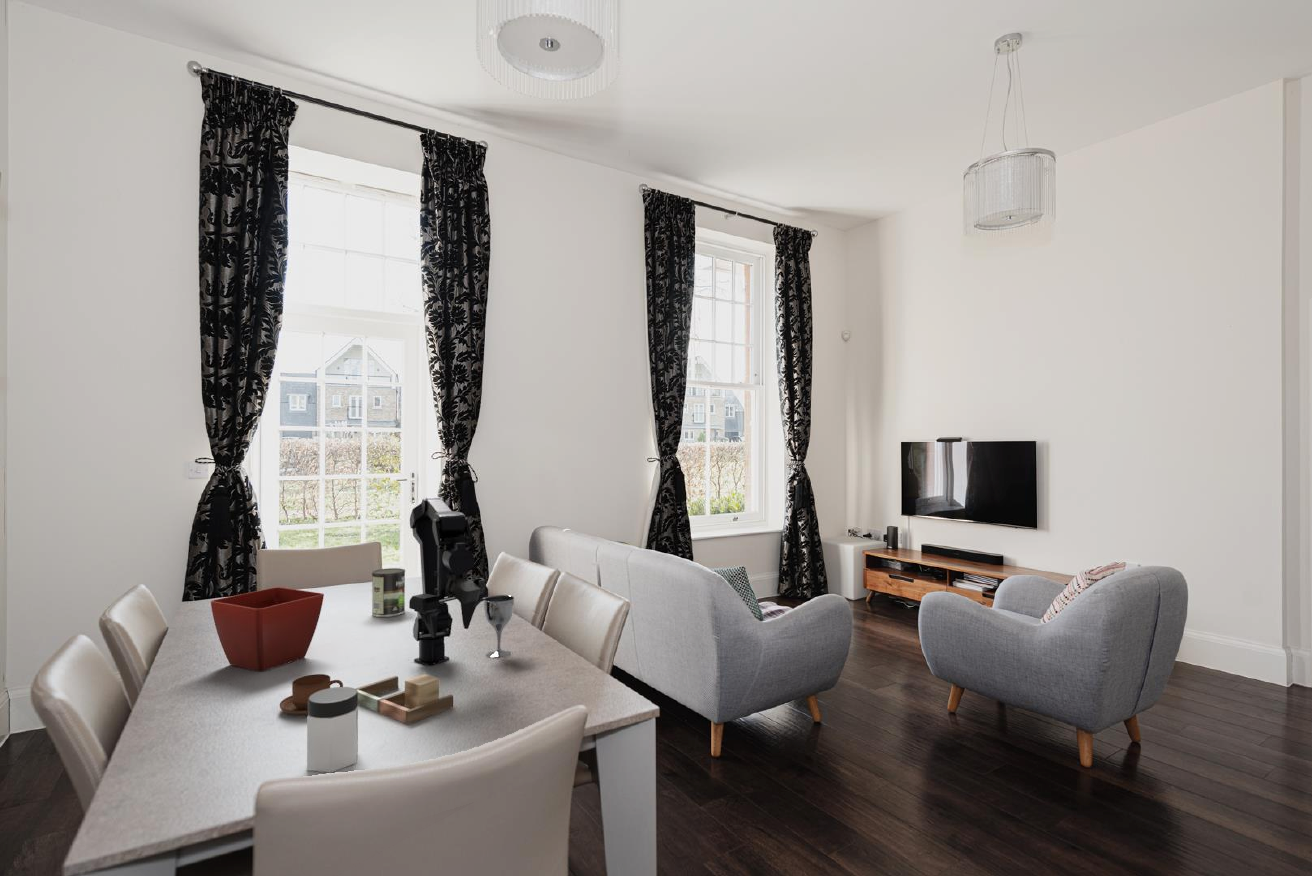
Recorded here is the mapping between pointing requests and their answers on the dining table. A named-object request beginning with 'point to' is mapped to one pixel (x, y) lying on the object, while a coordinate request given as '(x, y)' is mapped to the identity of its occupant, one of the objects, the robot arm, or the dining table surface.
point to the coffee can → (388, 592)
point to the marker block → (421, 690)
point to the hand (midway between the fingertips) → (450, 633)
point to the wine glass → (498, 619)
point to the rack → (398, 702)
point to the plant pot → (267, 626)
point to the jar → (332, 729)
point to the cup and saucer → (305, 692)
